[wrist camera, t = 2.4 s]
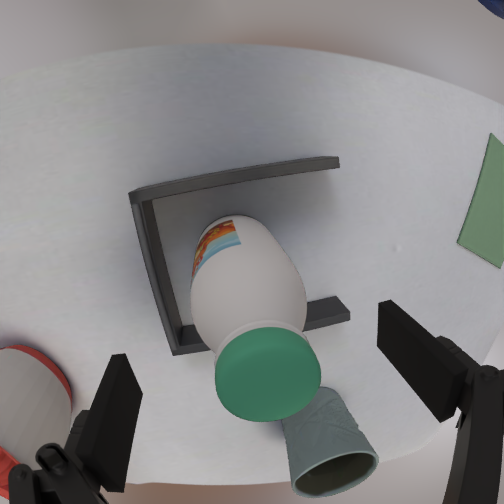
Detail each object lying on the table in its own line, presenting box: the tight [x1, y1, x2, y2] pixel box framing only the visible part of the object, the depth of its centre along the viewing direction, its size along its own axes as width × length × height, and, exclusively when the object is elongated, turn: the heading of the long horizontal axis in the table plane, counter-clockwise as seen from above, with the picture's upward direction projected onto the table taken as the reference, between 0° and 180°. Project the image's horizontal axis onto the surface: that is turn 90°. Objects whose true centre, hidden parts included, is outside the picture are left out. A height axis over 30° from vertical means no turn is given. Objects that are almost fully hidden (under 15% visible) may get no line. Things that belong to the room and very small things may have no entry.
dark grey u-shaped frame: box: [128, 156, 350, 356], centre depth 29 cm, size 18×16×5 cm
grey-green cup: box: [282, 387, 379, 498], centre depth 33 cm, size 10×10×12 cm
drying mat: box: [457, 133, 504, 268], centre depth 34 cm, size 16×12×1 cm
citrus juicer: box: [0, 345, 72, 500], centre depth 24 cm, size 16×17×20 cm
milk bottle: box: [190, 215, 321, 422], centre depth 22 cm, size 8×8×20 cm
